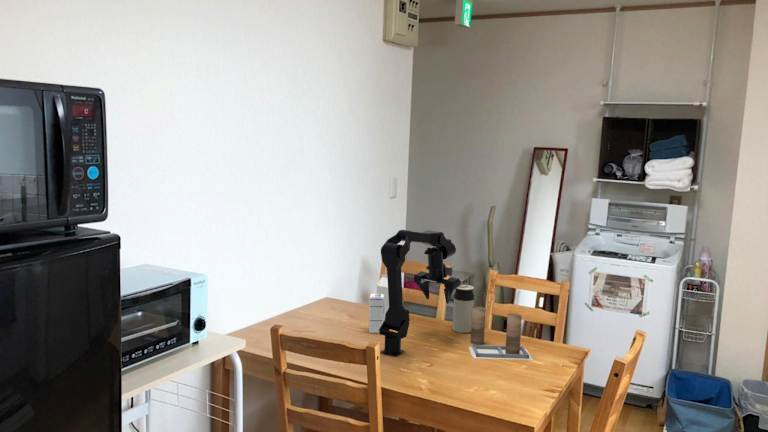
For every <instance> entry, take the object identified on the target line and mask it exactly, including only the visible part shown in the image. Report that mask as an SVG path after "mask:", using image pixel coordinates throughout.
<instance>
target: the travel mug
mask: <svg viewBox="0 0 768 432" xmlns="http://www.w3.org/2000/svg"><path fill="white" fill-rule="evenodd" d="M474 289H475V287H474V286H472V285H468V284H461V286H459V287H457V288H456V289H455V292H454V293H453V312H452V330H453V332H456V333H460V334H468V333H471V323H472V308H473V307H475V306H474V304H475V295H474Z"/></svg>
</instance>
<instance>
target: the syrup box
mask: <svg viewBox="0 0 768 432" xmlns="http://www.w3.org/2000/svg"><path fill="white" fill-rule="evenodd" d="M368 299H369V303H368V304H369V305H368V306H369V307H368V308H369V309H368V333H372V334H380V332H379V329H380V327H381V325H382V324H383V322H384V294H376V293H370V295H369V297H368Z"/></svg>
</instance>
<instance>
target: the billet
mask: <svg viewBox="0 0 768 432" xmlns="http://www.w3.org/2000/svg"><path fill="white" fill-rule="evenodd" d="M486 310H487V309H486V308H485V307H483V306H474V307H473V308H472V323H471V332H470V344H472V345H483V344H485V330H486V312H487V311H486Z"/></svg>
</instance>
